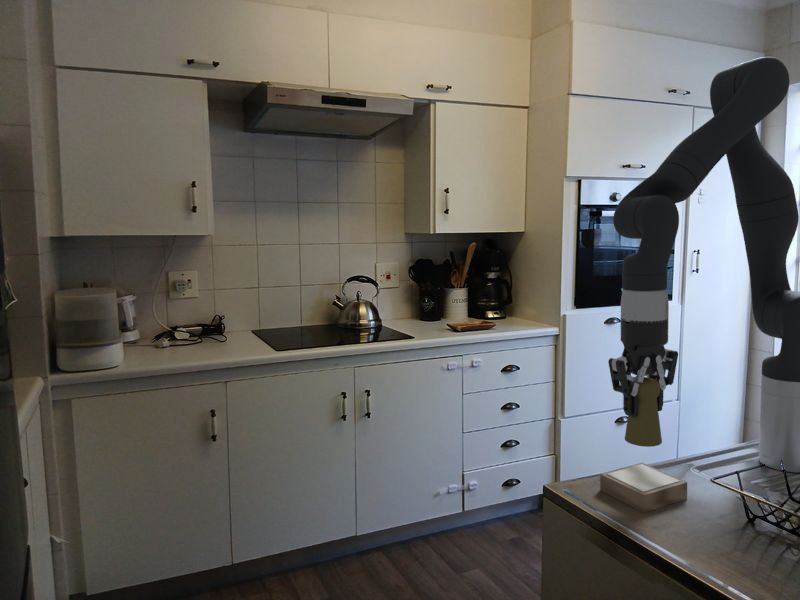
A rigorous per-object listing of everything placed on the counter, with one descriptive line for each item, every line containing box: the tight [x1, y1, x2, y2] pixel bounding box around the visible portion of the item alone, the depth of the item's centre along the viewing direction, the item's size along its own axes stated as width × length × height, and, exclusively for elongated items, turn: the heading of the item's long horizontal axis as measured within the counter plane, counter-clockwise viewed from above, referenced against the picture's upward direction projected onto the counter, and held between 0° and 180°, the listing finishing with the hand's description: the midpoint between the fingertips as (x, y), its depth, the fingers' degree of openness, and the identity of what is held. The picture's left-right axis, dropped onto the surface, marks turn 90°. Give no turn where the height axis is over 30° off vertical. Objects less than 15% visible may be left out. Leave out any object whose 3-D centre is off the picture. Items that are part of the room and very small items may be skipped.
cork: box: [624, 376, 663, 448], centre depth 106 cm, size 6×6×11 cm
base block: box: [599, 462, 688, 514], centre depth 107 cm, size 10×10×3 cm
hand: (643, 412), depth 106 cm, fingers closed on cork, 5 cm apart
